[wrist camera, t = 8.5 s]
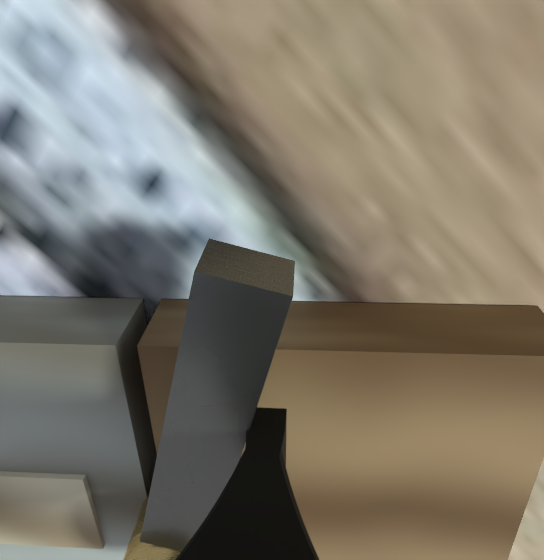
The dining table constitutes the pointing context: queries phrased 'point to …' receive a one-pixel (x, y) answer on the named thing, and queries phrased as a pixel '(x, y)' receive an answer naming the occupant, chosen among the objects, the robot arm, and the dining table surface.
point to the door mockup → (299, 426)
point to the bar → (212, 391)
